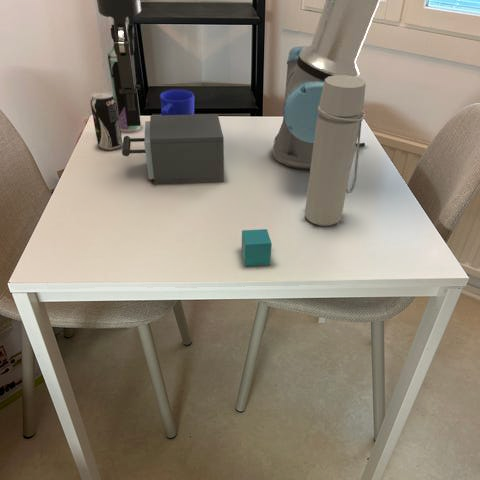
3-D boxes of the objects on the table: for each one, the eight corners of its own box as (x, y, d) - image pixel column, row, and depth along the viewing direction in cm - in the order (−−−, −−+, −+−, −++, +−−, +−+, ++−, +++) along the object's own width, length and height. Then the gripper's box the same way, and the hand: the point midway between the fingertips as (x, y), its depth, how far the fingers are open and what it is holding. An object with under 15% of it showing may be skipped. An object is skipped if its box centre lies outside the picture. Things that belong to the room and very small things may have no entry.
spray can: (128, 134, 121) (116, 45, 108) (114, 128, 124) (100, 41, 110) (144, 127, 124) (134, 41, 111) (129, 122, 127) (118, 37, 113)
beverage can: (97, 142, 117) (88, 90, 109) (121, 140, 118) (113, 89, 110) (99, 152, 113) (89, 99, 105) (123, 150, 114) (116, 97, 106)
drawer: (124, 180, 101) (119, 143, 96) (127, 156, 109) (122, 121, 104) (212, 176, 103) (211, 140, 98) (208, 153, 111) (207, 119, 106)
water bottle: (312, 231, 90) (333, 90, 73) (297, 210, 95) (313, 74, 78) (357, 225, 92) (387, 86, 75) (340, 204, 97) (364, 71, 80)
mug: (151, 146, 116) (146, 103, 109) (171, 128, 125) (168, 87, 118) (182, 151, 114) (179, 108, 108) (200, 132, 123) (199, 91, 116)
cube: (265, 250, 85) (267, 228, 82) (270, 264, 82) (271, 243, 79) (241, 251, 84) (241, 230, 81) (244, 266, 81) (245, 244, 78)
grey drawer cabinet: (154, 184, 102) (149, 139, 95) (154, 158, 111) (150, 115, 105) (223, 181, 104) (223, 136, 97) (218, 156, 113) (217, 113, 106)
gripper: (98, -19, 87) (117, 113, 103) (91, -6, 78) (113, 137, 94) (140, -19, 88) (152, 112, 104) (138, -5, 79) (152, 136, 95)
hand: (133, 124), depth 99 cm, fingers closed
